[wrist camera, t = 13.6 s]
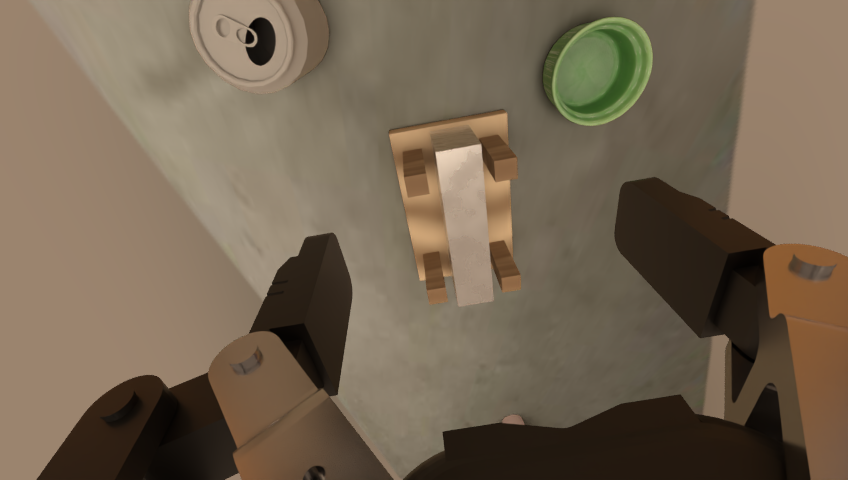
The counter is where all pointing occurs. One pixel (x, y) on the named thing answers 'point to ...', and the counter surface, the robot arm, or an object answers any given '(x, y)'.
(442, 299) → the rack
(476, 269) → the pale beige plank
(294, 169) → the counter surface
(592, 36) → the ramekin
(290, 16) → the can
